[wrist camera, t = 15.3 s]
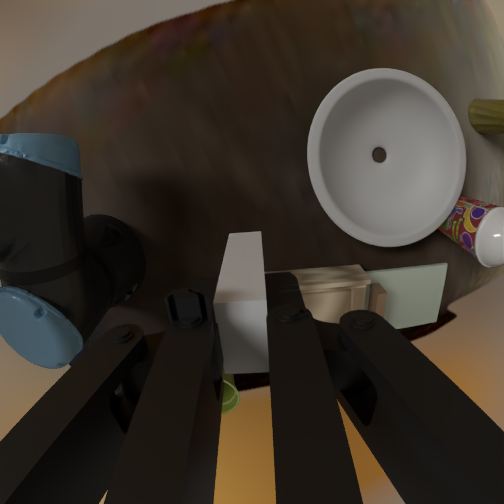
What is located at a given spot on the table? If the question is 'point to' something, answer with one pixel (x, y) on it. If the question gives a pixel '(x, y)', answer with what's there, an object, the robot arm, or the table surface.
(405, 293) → the cover plate
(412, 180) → the soup bowl
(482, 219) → the smoothie
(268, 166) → the table surface
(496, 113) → the vase
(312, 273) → the box
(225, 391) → the plant pot
